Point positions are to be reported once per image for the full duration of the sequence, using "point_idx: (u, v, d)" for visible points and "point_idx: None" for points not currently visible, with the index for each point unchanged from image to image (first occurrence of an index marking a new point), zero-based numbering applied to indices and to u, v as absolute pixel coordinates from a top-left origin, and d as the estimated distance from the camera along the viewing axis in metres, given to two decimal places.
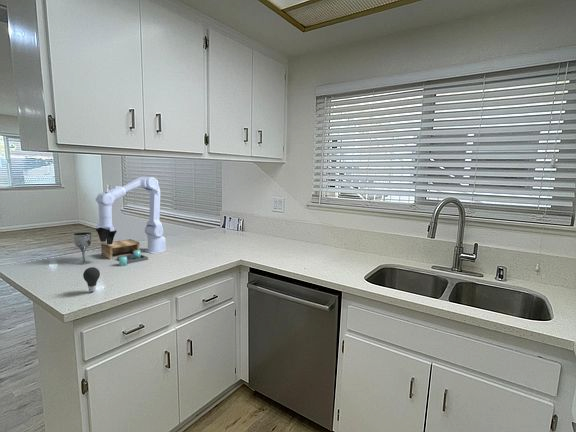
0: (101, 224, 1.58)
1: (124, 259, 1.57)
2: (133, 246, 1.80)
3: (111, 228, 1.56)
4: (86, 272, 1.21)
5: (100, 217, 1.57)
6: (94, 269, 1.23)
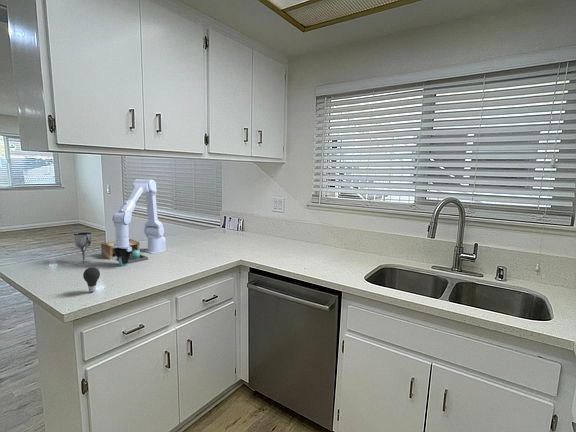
0: (118, 244, 1.54)
1: None
2: (133, 246, 1.80)
3: (129, 248, 1.52)
4: (86, 272, 1.21)
5: (117, 237, 1.54)
6: (94, 269, 1.23)
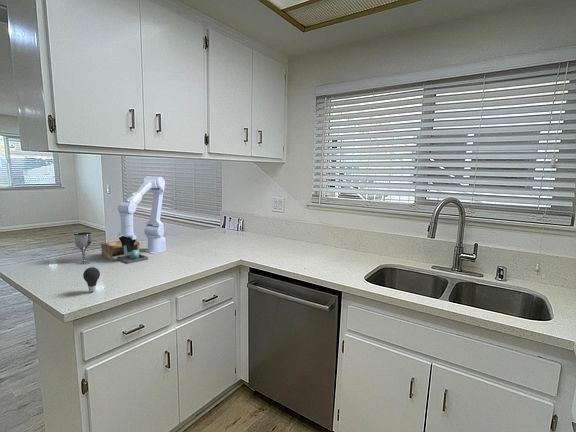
0: (123, 233, 1.61)
1: None
2: (133, 246, 1.80)
3: (133, 237, 1.60)
4: (86, 272, 1.21)
5: (122, 226, 1.61)
6: (94, 269, 1.23)
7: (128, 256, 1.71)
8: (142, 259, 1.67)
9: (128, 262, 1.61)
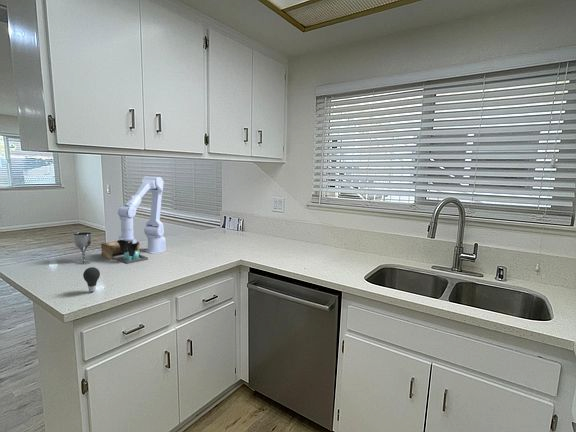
0: (123, 236, 1.62)
1: None
2: None
3: (133, 240, 1.60)
4: (86, 272, 1.21)
5: (122, 230, 1.61)
6: (94, 269, 1.23)
7: None
8: (142, 259, 1.67)
9: (128, 262, 1.61)
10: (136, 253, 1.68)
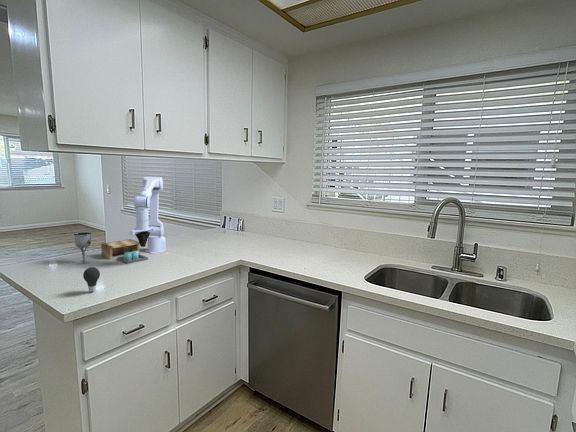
0: None
1: (129, 254, 1.65)
2: (133, 246, 1.80)
3: (130, 232, 1.53)
4: (86, 272, 1.21)
5: None
6: (94, 269, 1.23)
7: None
8: (142, 259, 1.67)
9: (128, 262, 1.61)
10: (136, 253, 1.68)
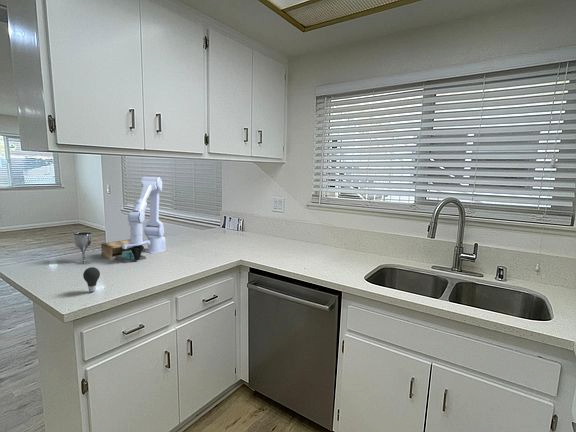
0: None
1: (127, 253, 1.66)
2: None
3: (122, 246, 1.58)
4: (86, 272, 1.21)
5: None
6: (94, 269, 1.23)
7: None
8: (140, 258, 1.68)
9: (126, 261, 1.62)
10: None
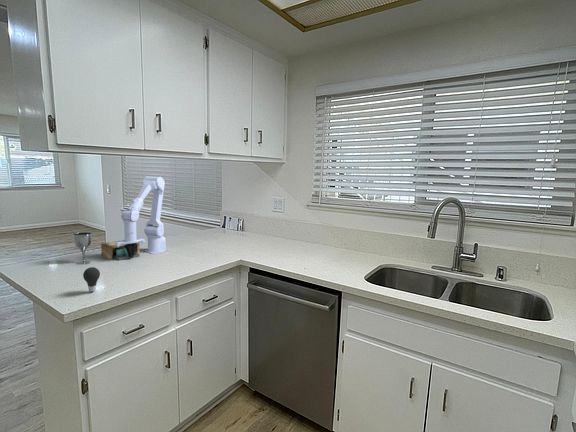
0: None
1: (121, 251, 1.70)
2: None
3: (116, 243, 1.62)
4: (86, 272, 1.21)
5: None
6: (94, 269, 1.23)
7: None
8: (133, 256, 1.72)
9: (119, 259, 1.66)
10: None
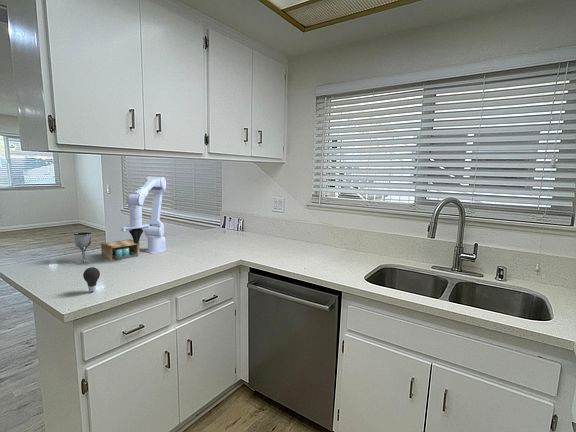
0: None
1: (120, 251, 1.70)
2: (133, 246, 1.80)
3: (121, 228, 1.57)
4: (86, 272, 1.21)
5: None
6: (94, 269, 1.23)
7: None
8: (132, 256, 1.72)
9: (118, 259, 1.66)
10: (126, 250, 1.73)
